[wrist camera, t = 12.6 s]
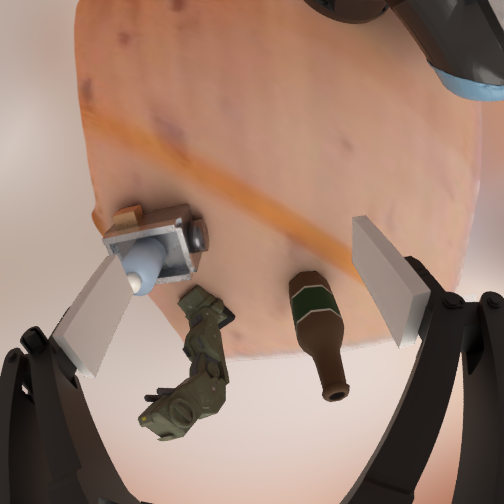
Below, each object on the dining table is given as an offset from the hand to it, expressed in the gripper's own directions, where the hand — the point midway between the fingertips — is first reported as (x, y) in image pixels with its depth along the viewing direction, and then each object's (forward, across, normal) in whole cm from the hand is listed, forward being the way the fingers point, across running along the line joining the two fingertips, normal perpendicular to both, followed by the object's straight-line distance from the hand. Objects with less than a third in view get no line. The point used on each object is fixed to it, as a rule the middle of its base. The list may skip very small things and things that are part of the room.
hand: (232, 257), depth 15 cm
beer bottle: (+29, +8, -25) cm, 39 cm away
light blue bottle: (+23, -16, -10) cm, 30 cm away
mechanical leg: (+29, -12, -26) cm, 41 cm away
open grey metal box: (+29, -15, -9) cm, 34 cm away
